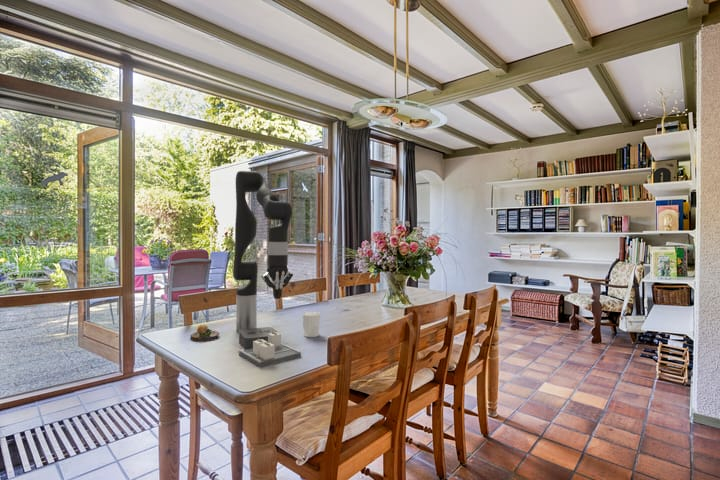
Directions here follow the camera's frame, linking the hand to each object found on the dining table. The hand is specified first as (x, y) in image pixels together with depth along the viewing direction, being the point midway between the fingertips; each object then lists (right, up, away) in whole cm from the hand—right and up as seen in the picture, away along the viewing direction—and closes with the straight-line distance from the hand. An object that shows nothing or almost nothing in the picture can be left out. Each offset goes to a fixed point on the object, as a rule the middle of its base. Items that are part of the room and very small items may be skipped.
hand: (277, 298), depth 144 cm
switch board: (-3, -22, -1) cm, 22 cm away
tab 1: (-6, -20, -4) cm, 21 cm away
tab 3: (-3, -20, +6) cm, 21 cm away
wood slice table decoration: (-37, -21, +21) cm, 48 cm away
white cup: (+9, -21, +27) cm, 36 cm away
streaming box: (-11, -22, +13) cm, 27 cm away
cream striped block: (-2, -20, -8) cm, 22 cm away
